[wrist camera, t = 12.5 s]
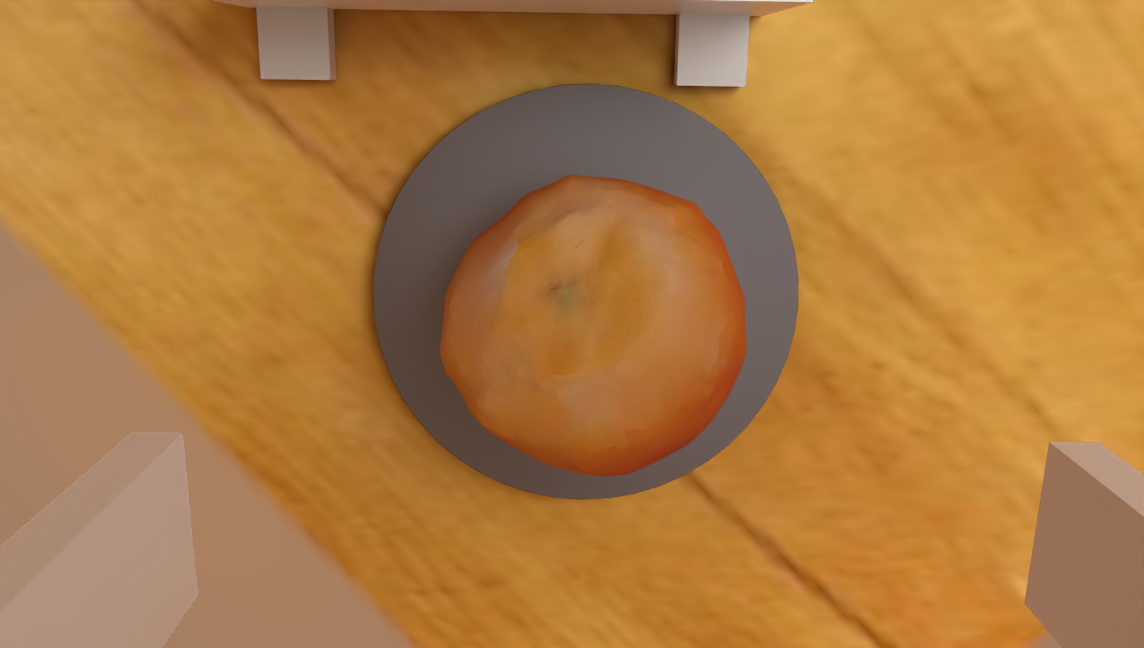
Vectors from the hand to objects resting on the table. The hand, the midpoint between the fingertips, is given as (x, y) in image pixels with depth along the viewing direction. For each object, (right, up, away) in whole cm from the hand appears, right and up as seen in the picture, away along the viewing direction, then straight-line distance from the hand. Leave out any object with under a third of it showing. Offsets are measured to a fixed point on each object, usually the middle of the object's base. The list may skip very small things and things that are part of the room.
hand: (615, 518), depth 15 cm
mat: (0, +4, +16) cm, 16 cm away
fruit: (0, +4, +15) cm, 16 cm away
